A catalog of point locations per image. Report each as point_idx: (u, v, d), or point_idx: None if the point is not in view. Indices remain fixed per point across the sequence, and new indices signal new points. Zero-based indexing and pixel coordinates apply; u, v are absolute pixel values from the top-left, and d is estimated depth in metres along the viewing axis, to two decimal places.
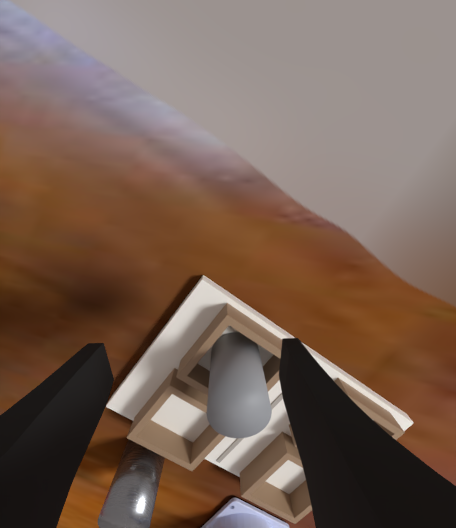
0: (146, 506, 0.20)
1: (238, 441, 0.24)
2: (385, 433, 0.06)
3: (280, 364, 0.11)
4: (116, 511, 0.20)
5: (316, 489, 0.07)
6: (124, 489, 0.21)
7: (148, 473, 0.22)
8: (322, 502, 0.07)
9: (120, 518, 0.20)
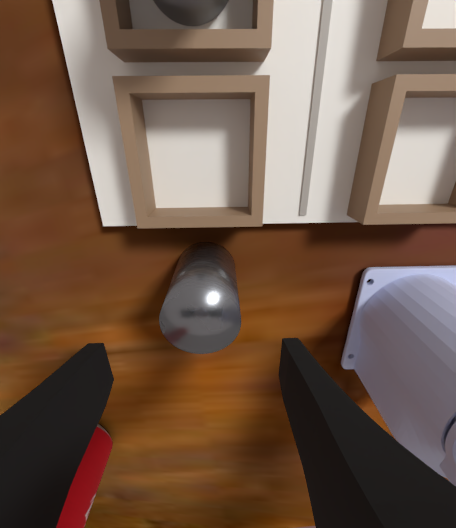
0: (213, 284, 0.12)
1: (310, 155, 0.14)
2: (385, 433, 0.06)
3: (280, 364, 0.11)
4: (175, 308, 0.12)
5: (316, 489, 0.07)
6: (174, 285, 0.13)
7: (205, 263, 0.14)
8: (322, 502, 0.07)
9: (189, 316, 0.12)
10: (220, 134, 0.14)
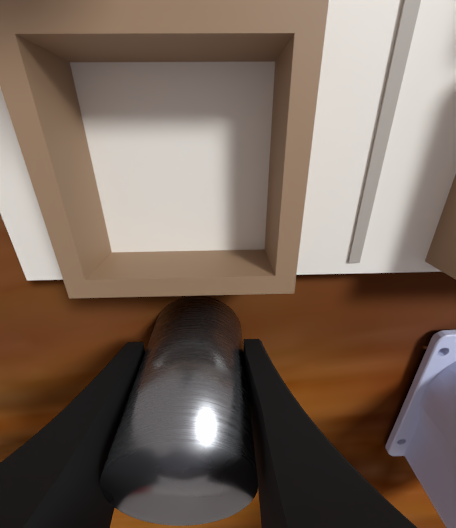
0: (205, 422, 0.06)
1: (377, 166, 0.08)
2: (320, 435, 0.06)
3: None
4: (130, 470, 0.06)
5: (261, 491, 0.07)
6: (132, 412, 0.07)
7: (192, 354, 0.08)
8: (264, 504, 0.07)
9: (158, 481, 0.06)
10: (218, 128, 0.07)
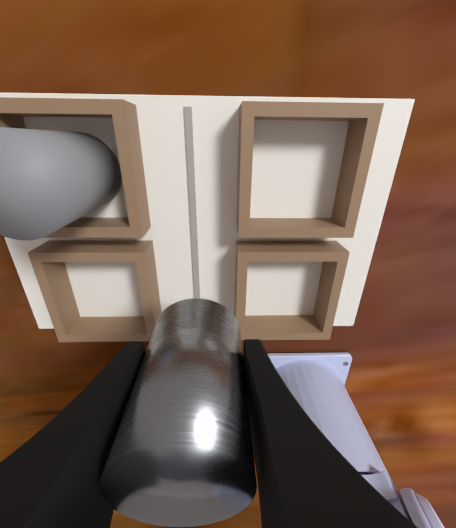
0: (209, 426, 0.06)
1: (197, 284, 0.18)
2: (320, 435, 0.06)
3: None
4: (131, 471, 0.06)
5: (261, 491, 0.07)
6: (135, 412, 0.07)
7: (196, 357, 0.08)
8: (264, 504, 0.07)
9: (158, 483, 0.06)
10: (124, 270, 0.18)
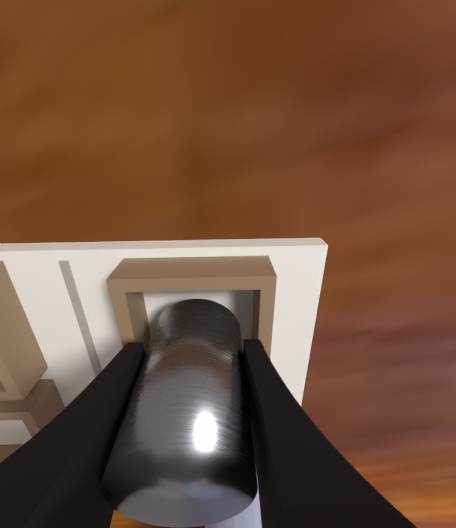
0: (212, 427, 0.06)
1: None
2: (320, 435, 0.06)
3: None
4: (133, 471, 0.06)
5: (261, 491, 0.07)
6: (137, 412, 0.07)
7: (199, 358, 0.08)
8: (264, 504, 0.07)
9: (160, 483, 0.06)
10: None
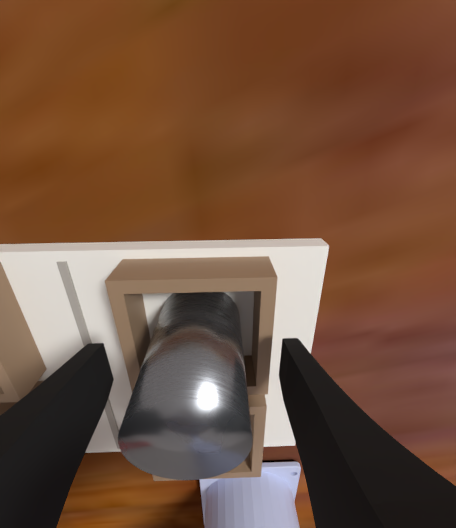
0: (214, 387, 0.07)
1: (111, 417, 0.16)
2: (385, 433, 0.06)
3: (280, 364, 0.11)
4: (146, 424, 0.07)
5: (316, 489, 0.07)
6: (148, 376, 0.08)
7: (201, 333, 0.09)
8: (322, 502, 0.07)
9: (168, 435, 0.08)
10: None
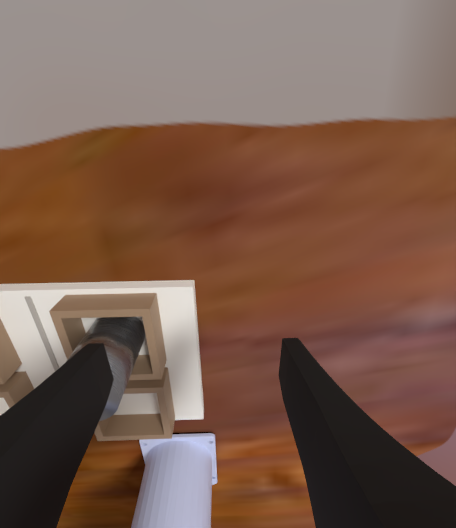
0: None
1: None
2: (385, 433, 0.06)
3: (280, 364, 0.11)
4: None
5: (316, 489, 0.07)
6: None
7: (101, 341, 0.16)
8: (322, 502, 0.07)
9: None
10: None
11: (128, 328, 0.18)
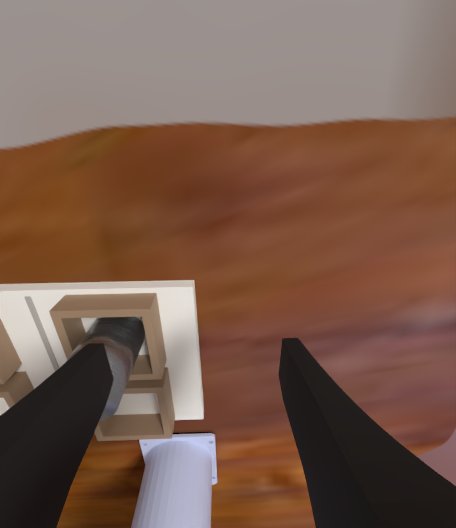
0: None
1: None
2: (385, 433, 0.06)
3: (280, 364, 0.11)
4: None
5: (316, 489, 0.07)
6: None
7: (101, 341, 0.16)
8: (322, 502, 0.07)
9: None
10: None
11: (128, 328, 0.18)
